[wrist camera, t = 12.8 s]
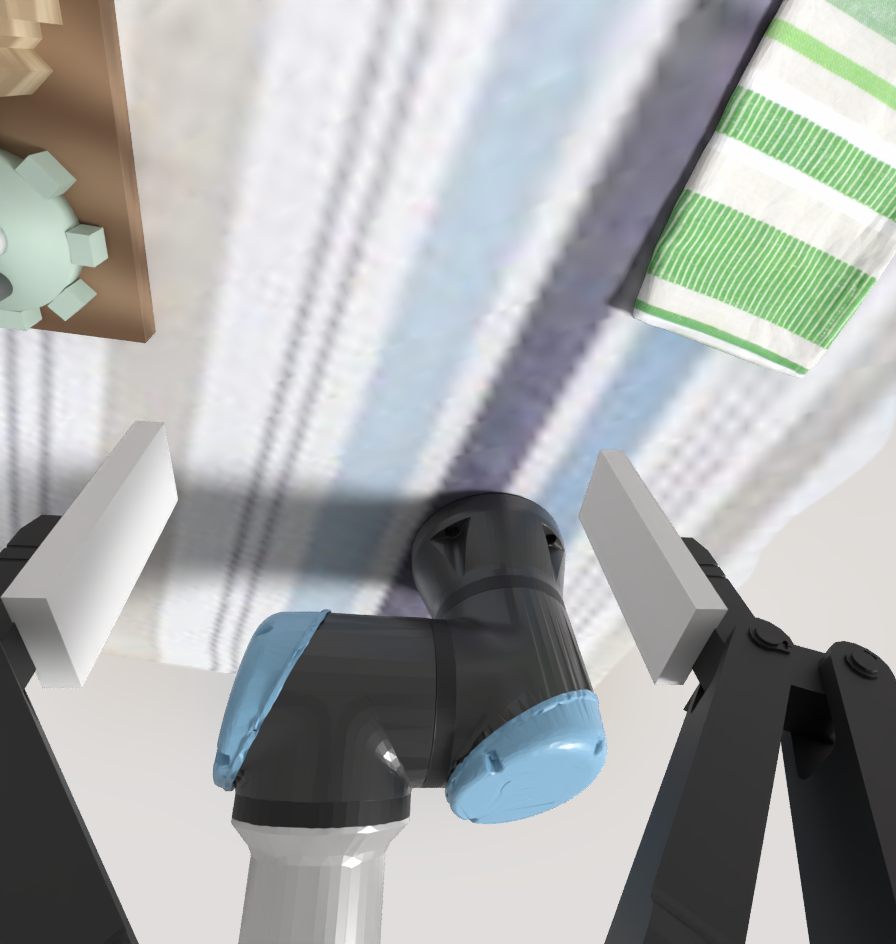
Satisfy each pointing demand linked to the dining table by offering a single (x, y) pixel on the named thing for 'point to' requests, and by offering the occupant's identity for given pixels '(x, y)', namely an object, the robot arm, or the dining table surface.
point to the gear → (42, 242)
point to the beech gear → (24, 44)
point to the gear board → (89, 163)
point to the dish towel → (788, 193)
